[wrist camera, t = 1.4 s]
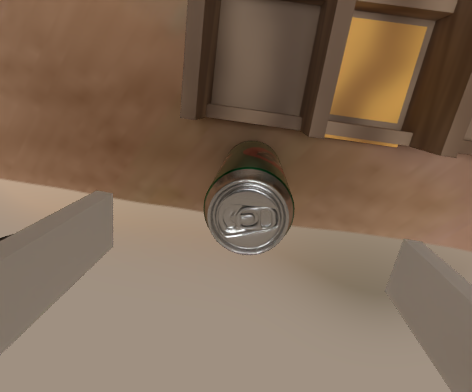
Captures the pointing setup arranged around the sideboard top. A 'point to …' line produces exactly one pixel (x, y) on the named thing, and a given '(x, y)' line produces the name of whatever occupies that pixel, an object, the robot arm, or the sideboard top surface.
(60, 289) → the robot arm
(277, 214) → the soda can
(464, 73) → the slot rack
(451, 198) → the sideboard top surface
